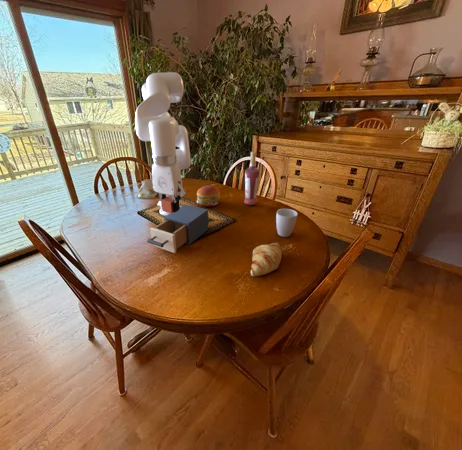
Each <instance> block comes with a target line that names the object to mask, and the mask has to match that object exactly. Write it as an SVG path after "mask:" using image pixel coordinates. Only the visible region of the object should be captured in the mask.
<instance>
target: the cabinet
mask: <svg viewBox="0 0 462 450" xmlns="http://www.w3.org/2000/svg"><path fill="white" fill-rule="evenodd" d="M180 206H181V207H180V209H179V210H178V211H177V212H175V213H174V212H173V213H170V214H168V215H166V216H163V219H164V221H166V220H167V219H168V220H171V221H175V222H178V223H182V224H186V225H187V231H188V241H186V242H185V243H184V244H188V245H191V244H192V243H194V242H195V241H196V240H197V239H198V238H200V237H201V236H202V235H204V234H205V233H206V232H207V231H208V230H209V229H210V228H209V227H210V226H209V210H208V209H207V208H203V207H198V206H193V205H189V204H183V205H180Z"/></svg>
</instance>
